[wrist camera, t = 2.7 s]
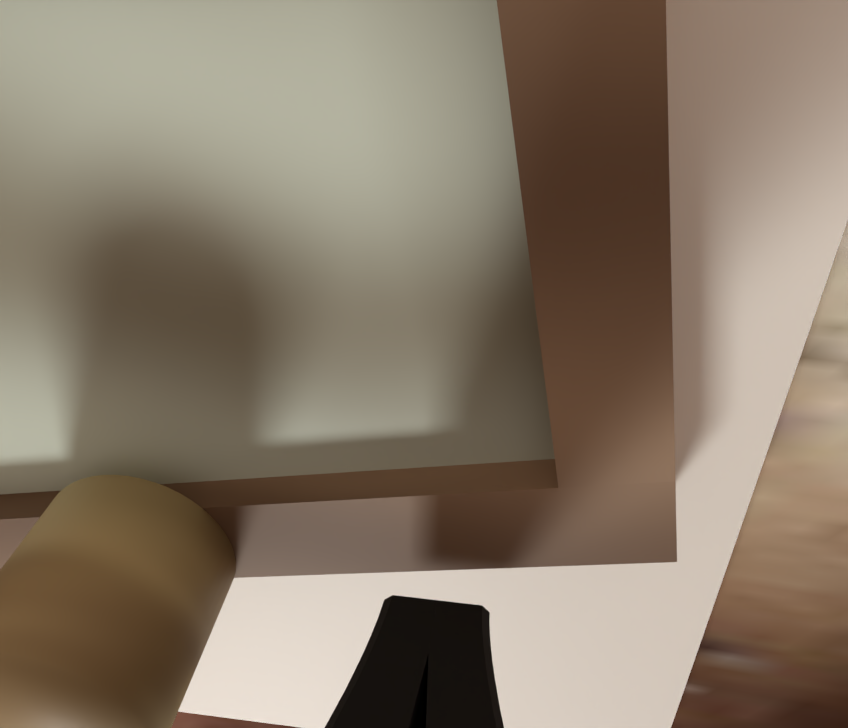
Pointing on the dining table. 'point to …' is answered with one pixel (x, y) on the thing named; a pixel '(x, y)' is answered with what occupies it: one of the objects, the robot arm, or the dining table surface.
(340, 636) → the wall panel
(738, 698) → the dining table surface
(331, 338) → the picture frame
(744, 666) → the dining table surface
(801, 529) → the dining table surface
